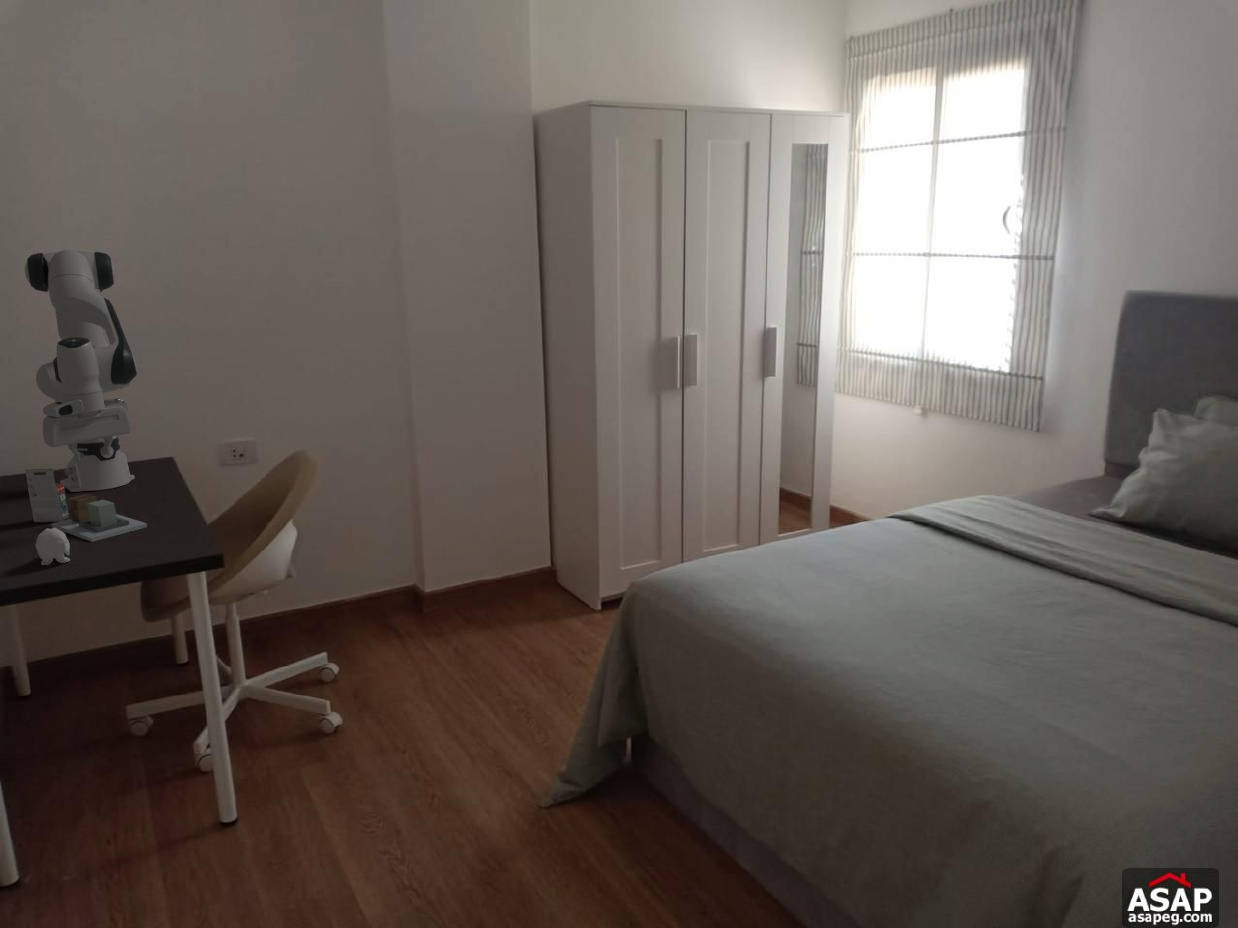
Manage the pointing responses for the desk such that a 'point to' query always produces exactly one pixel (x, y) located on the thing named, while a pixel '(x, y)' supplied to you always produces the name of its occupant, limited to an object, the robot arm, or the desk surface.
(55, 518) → the ink box
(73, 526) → the board
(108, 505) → the sage block
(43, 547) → the white animal figurine
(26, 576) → the desk surface
